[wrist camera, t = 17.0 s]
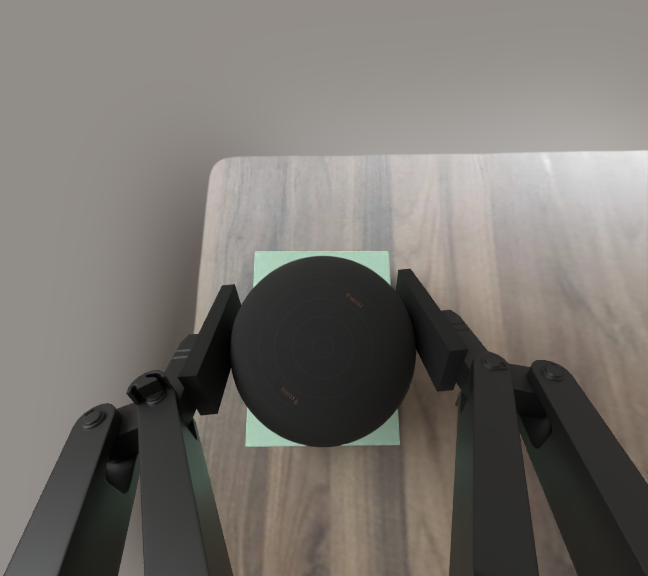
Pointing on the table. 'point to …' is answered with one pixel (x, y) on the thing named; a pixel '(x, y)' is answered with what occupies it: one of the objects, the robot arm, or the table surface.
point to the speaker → (322, 351)
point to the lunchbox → (270, 262)
